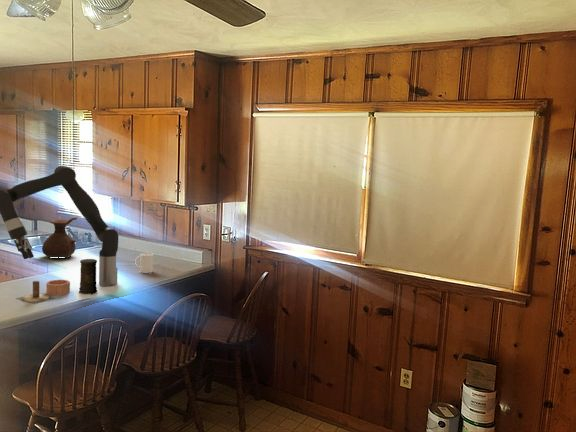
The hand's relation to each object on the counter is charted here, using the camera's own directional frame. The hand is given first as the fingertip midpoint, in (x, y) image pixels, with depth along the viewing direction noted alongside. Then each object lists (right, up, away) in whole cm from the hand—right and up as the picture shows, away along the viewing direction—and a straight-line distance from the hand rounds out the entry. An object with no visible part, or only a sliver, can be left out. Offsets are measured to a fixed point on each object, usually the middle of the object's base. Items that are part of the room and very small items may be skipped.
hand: (29, 258), depth 232 cm
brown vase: (-34, -9, +98) cm, 104 cm away
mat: (+2, -21, +3) cm, 22 cm away
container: (+21, -21, +20) cm, 36 cm away
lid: (+2, -21, +3) cm, 21 cm away
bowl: (+7, -20, +16) cm, 27 cm away
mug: (+35, -16, +72) cm, 82 cm away
